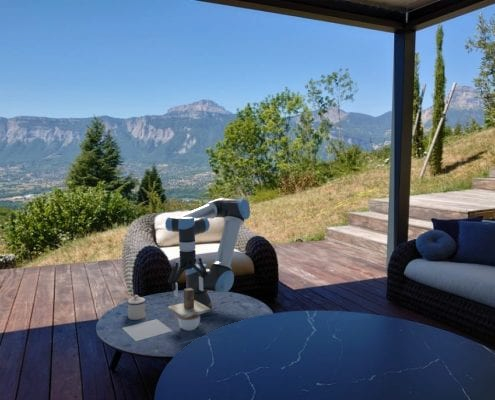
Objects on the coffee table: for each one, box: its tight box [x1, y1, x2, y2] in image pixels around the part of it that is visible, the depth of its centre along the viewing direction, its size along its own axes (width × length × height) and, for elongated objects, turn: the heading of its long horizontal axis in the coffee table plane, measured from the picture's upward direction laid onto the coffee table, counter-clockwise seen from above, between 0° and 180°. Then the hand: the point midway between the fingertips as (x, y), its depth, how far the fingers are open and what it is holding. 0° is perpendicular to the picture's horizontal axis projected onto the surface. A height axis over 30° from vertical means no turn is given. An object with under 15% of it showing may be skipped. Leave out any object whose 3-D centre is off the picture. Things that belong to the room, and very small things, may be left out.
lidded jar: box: [177, 314, 201, 332], centre depth 196 cm, size 11×11×9 cm
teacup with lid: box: [126, 294, 147, 321], centre depth 212 cm, size 12×9×12 cm
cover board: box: [167, 288, 212, 319], centre depth 195 cm, size 15×15×10 cm
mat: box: [121, 318, 173, 342], centre depth 196 cm, size 18×18×1 cm
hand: (188, 293), depth 195 cm, fingers open, 13 cm apart
